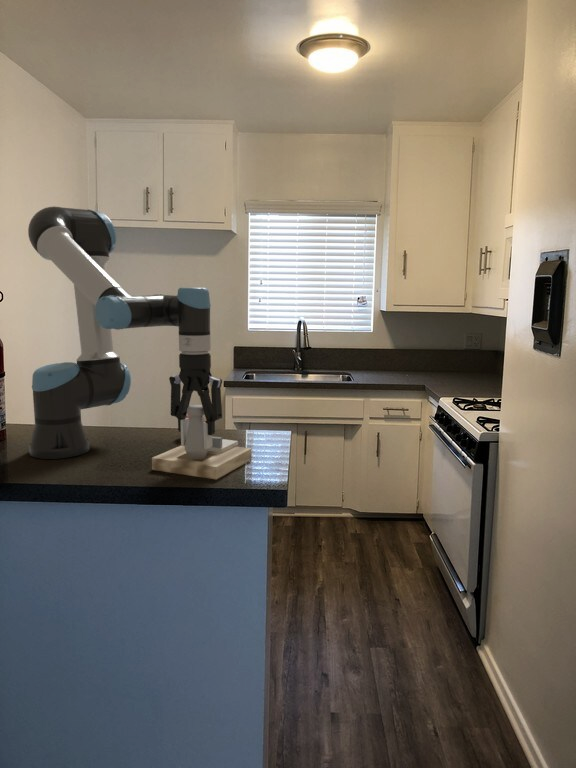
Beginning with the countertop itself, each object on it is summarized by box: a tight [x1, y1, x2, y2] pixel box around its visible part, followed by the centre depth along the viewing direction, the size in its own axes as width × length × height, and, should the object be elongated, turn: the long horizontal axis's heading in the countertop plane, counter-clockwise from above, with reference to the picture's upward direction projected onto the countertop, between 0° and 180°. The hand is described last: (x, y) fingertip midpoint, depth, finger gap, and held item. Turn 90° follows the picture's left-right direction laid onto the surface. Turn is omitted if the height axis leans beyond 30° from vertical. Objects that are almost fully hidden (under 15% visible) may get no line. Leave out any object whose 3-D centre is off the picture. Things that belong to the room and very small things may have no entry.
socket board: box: [151, 445, 252, 480], centre depth 157 cm, size 18×18×3 cm
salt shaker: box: [185, 404, 208, 460], centre depth 153 cm, size 6×6×13 cm
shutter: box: [208, 435, 239, 453], centre depth 162 cm, size 8×8×4 cm
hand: (196, 446), depth 154 cm, fingers closed on salt shaker, 6 cm apart
